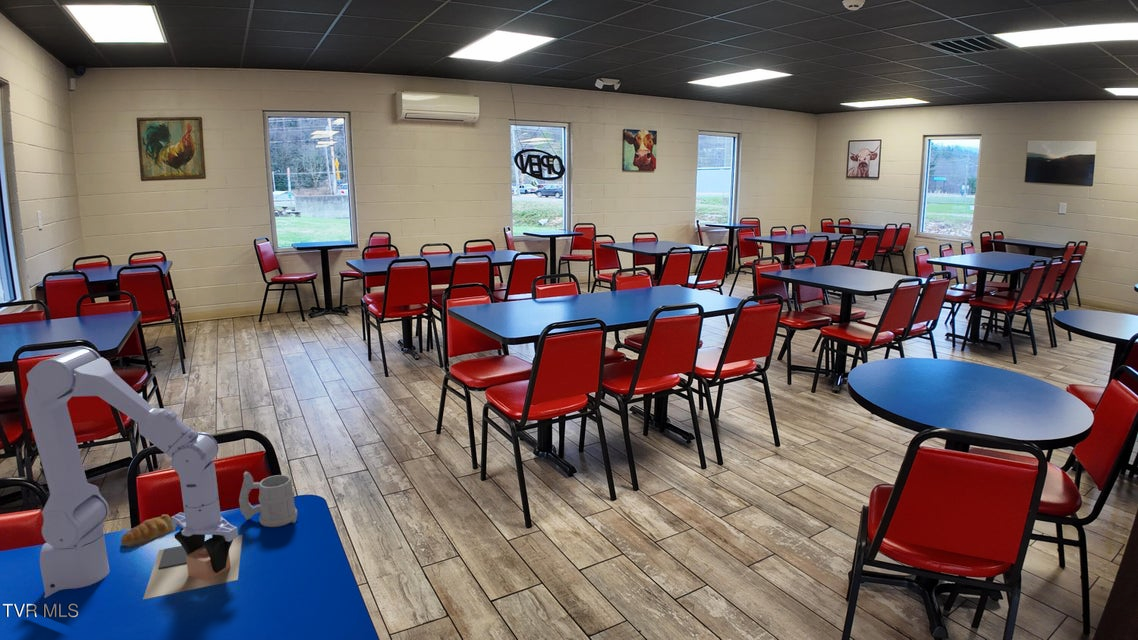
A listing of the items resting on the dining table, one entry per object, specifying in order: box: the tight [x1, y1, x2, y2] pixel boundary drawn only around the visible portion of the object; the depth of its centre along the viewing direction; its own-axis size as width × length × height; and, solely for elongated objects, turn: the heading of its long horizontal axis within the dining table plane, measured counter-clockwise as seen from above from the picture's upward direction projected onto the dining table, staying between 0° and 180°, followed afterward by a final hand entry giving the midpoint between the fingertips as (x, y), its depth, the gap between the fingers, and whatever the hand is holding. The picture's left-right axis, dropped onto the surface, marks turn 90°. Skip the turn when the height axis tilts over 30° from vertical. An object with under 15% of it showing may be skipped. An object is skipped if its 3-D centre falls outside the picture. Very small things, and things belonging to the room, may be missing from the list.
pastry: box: [120, 514, 176, 548], centre depth 138 cm, size 9×7×4 cm
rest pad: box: [158, 545, 187, 569], centre depth 130 cm, size 7×7×1 cm
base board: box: [142, 534, 243, 600], centre depth 127 cm, size 15×17×1 cm
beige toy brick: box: [186, 546, 231, 582], centre depth 124 cm, size 5×5×5 cm
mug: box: [238, 471, 298, 528], centre depth 143 cm, size 8×12×12 cm, turn 94°
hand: (209, 566), depth 124 cm, fingers closed on beige toy brick, 5 cm apart
